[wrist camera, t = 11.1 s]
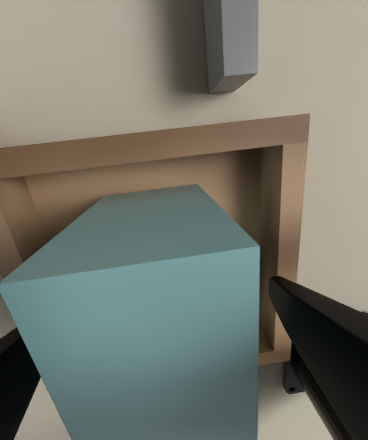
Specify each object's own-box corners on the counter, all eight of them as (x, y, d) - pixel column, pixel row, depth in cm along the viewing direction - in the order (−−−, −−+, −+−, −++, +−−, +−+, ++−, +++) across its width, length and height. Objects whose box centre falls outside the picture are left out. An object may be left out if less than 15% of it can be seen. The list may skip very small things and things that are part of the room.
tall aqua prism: (209, 323, 13) (256, 495, 7) (138, 335, 13) (114, 527, 6) (197, 183, 10) (259, 245, 4) (104, 195, 10) (-5, 284, 3)
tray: (268, 325, 15) (290, 360, 12) (79, 357, 14) (61, 402, 11) (275, 121, 10) (310, 113, 8) (0, 153, 10) (-55, 154, 7)
